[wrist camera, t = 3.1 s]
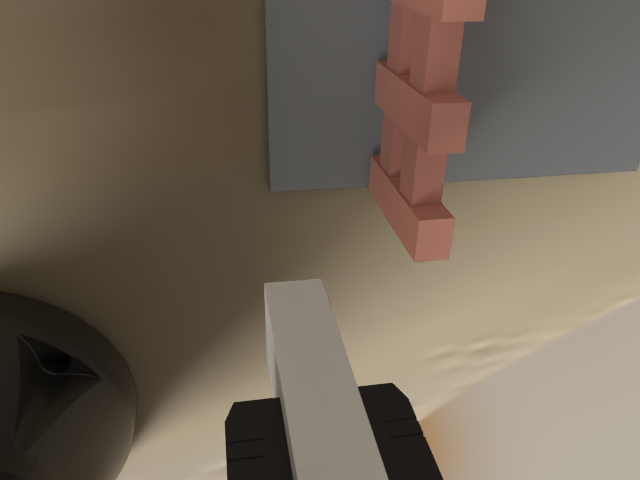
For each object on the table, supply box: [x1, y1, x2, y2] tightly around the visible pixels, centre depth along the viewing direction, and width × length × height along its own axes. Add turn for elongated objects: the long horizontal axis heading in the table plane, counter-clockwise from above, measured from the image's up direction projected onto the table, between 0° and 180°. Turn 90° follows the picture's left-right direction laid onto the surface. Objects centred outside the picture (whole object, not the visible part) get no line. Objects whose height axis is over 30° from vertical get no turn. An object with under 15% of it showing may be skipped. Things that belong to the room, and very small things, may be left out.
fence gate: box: [369, 0, 487, 262], centre depth 22 cm, size 13×2×7 cm, turn 179°
